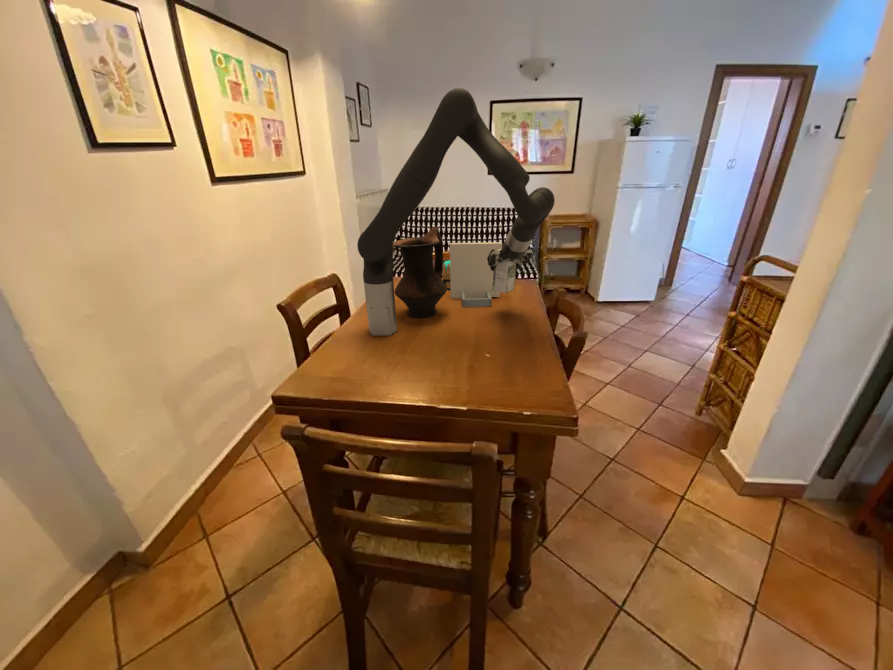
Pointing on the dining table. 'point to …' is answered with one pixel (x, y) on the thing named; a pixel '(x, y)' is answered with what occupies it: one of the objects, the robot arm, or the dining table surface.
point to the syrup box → (504, 276)
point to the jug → (421, 274)
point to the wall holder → (472, 273)
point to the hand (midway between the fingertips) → (503, 268)
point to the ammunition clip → (447, 280)
